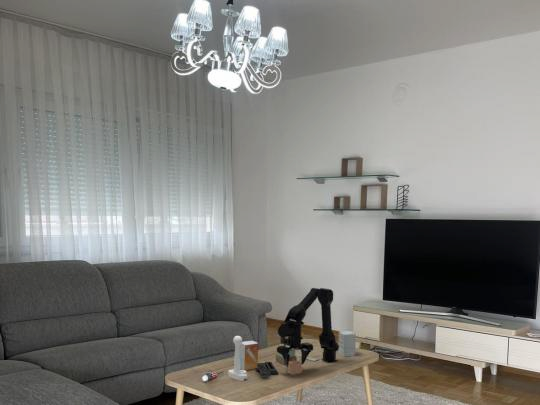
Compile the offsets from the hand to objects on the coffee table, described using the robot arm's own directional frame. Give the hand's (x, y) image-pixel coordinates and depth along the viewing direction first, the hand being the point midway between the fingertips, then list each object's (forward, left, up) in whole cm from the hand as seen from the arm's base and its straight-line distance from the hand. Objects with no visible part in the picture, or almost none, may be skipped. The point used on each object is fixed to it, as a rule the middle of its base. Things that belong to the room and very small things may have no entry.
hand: (294, 365), depth 249 cm
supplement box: (-44, -13, -4) cm, 46 cm away
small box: (+18, -16, -4) cm, 24 cm away
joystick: (+28, -6, -4) cm, 29 cm away
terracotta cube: (0, 0, -4) cm, 4 cm away
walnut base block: (-5, -16, -4) cm, 17 cm away
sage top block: (-5, -16, 0) cm, 17 cm away
